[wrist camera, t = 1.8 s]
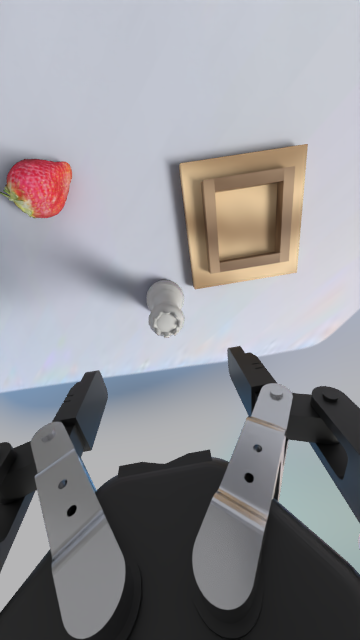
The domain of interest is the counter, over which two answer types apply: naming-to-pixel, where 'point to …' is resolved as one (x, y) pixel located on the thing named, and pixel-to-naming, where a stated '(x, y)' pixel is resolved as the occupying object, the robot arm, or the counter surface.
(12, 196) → the fruit
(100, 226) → the counter surface
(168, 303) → the rook chess piece
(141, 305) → the counter surface
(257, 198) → the display stand
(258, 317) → the counter surface
